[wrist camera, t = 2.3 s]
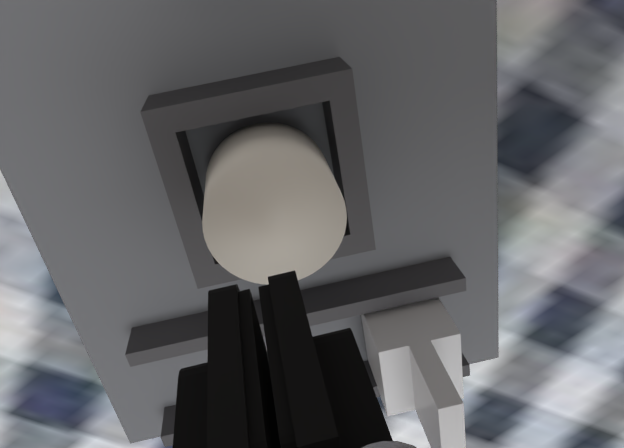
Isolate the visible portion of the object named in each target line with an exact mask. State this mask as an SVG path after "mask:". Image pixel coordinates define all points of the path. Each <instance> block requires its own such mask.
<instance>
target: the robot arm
mask: <svg viewBox="0 0 624 448" xmlns="http://www.w3.org/2000/svg"><path fill="white" fill-rule="evenodd" d="M268 282H269V284H268V285H264V286H259V287H258V289H259V296H260V304H261V311H262V318H263V325H264V332H265V339H266V346H265V342H264V339H263V335H262V331H261V328H260V324H259V320H258V316H257V313H256V309H255V305H254V302H253V298H252V294H251V291H250V289H246V290H242V291H240V290H239V287H238V285H237V284H235V285H230V286H226V287H222V288H217V289H213V290H209V291H208V359H207V363H202V364H198V365H194V366H190V367H186V368H182V369H180V371H179V375H178V384H177V397H176V410H175V423H174V436H173V448H416V447H415V446H413V445H409V444H406V443H402V442H399V441H393V440H392V438H391V435H390V432H389V429H388V427H387V424H386V421H385V419H384V416H383V413H382V410H381V408H380V405H379V402H378V400H377V397H376V394H375V391H374V389H373V386H372V383H371V381H370V378H369V375H368V372H367V370H366V367H365V364H364V362H363V359H362V356H361V354H360V351H359V348H358V345H357V343H356V340H355V337H354V335H353V332H352V330H351V328H347V329H342V330H338V331H334V332H330V333H326V334H322V335H318V336H314V337H312V333H311V329H310V325H309V321H308V318H307V314H306V310H305V306H304V302H303V298H302V295H301V291H300V287H299V283H298V279H297V275H296V272H295V271H290V272H286V273H282V274H277V275H273V276H269V277H268ZM266 347H267V350H266Z"/></svg>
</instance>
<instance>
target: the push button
mask: <svg viewBox="0 0 624 448" xmlns="http://www.w3.org/2000/svg"><path fill="white" fill-rule="evenodd" d="M346 222H347V213H346V206H345V201H344V198H343V196H342V193H341V191H340V189H339V187H338V185H337V183H336V180H335V178H334V176H333V174H332V172H331V170H330V168H329V166H328V164H327V162H326V159H325V157H324V155H323V153H322V152H321V150H320V148H319V147H318V146H317V144H316V143H315V142H314V141H313V140H312V139H311V138H310V137H309V136H307V135H306V134H305V133H303V132H301V131H300V130H298V129H296V128H294V127H291V126H288V125H284V124H280V123H272V122H271V123H257V124H252V125H249V126H246V127H243V128H241V129H239V130H237V131H235V132H234V133H232V134H231V135H229V136H228V137H227V138H225V139H224V140H223V141H222V142H221V143H220V144H219V146H218V147H217V148H216V150H215V151H214V153H213V155H212V156H211V158H210V161H209V164H208V167H207V172H206V181H205V193H204V205H203V217H202V228H203V234H204V239H205V242H206V244H207V247H208V249H209V251H210V252H211V254H212V256H213V257H214V258H215V259H216V261H217V262H218V263H219V264H220V265H221V266H222V267H223V268H224V269H226V270H227V271H228V272H230V273H231V274H233V275H235V276H237V277H239V278H241V279H243V280H246V281H249V282H253V283H258V284H266V285H268V284H269V282H268V277H269V276H273V275H277V274H282V273H286V272H290V271H295V272H296V275H297V279H298V280H300V279H303V278H305V277H307V276H309V275H311V274H313V273H314V272H316V271H317V270H319V269H320V268H321V267H323V266H324V265H325V264H326V263H327V262H328V261H329V260H330V259H331V258H332V257H333V255H334V254H335V252H336V251H337V249H338V248H339V246H340V244H341V242H342V239H343V237H344V234H345V229H346Z"/></svg>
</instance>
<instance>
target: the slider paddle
mask: <svg viewBox="0 0 624 448" xmlns="http://www.w3.org/2000/svg"><path fill="white" fill-rule="evenodd" d="M361 318H362V325H363V331H364V337H365V344H366V350H367V357H368V361H369V364H370V367H371V370H372V373H373V376H374V379H375V382H376V384H377V387H378V390H379V393H380V396H381V399H382V402H383V405H384V407H385V410H386V413H387V416H392V415H396V414H400V413H404V412H408V411H413V410H416V412H417V414H418V417H419V419H420V422H421V424H422V426H423V429H424V431H425V434H426V436H427V439H428V441H429V443H430V446H431V448H466V444H465V423H464V403H463V401H462V399H463V398H464V395H463V374H462V353H461V334H460V332H459V330H458V329H457V327H456V325H455V324H454V322H453V320H452V319H451V317H450V316H449V314H448V312H447V311H446V309H445V307H444V306H443V304H442V302H441V301H440V299H439V298H438V297H437V298H432V299H428V300H424V301H419V302H415V303H410V304H406V305H402V306H397V307H393V308H388V309H384V310H380V311H375V312H371V313H366V314H362V315H361Z"/></svg>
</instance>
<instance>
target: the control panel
mask: <svg viewBox="0 0 624 448" xmlns="http://www.w3.org/2000/svg"><path fill="white" fill-rule="evenodd" d="M271 122H272V123H280V124H284V125H288V126H291V127H294V128H296V129H298V130H300V131H301V132H303V133H305V134H306V135H307V136H309V137H310V138H311V139H312V140H313V141H314V142H315V143H316V144H317V146H318V147H319V148H320V150H321V152H322V153H323V155H324V157H325V159H326V162H327V164H328V166H329V168H330V170H331V172H332V174H333V176H334V178H335V180H336V183H337V185H338V187H339V189H340V191H341V193H342V196H343V198H344V201H345V206H346V213H347V222H346V229H345V234H344V237H343V239H342V242H341V244H340V246H339V248H338V249H337V251H336V252H335V254H334V255H333V257H332V258H331V259H330V260H329V261H328V262H327V263H326V264H325V265H324V266H323V267H321V268H320V269H319V270H317V271H316V272H314V273H313V274H311V275H309V276H307V277H305V278H303V279H300V280H298V283H299V287H300V291H301V295H302V298H303V302H304V306H305V310H306V314H307V318H308V321H309V325H310V329H311V333H312V337H314V336H318V335H322V334H326V333H330V332H334V331H338V330H342V329H347V328H351V330H352V332H353V335H354V337H355V340H356V343H357V345H358V348H359V351H360V354H361V356H362V359H363V362H364V364H365V367H366V370H367V372H368V375H369V378H370V381H371V383H372V386H373V389H374V391H375V394H376V397H380V393H379V390H378V387H377V384H376V382H375V379H374V376H373V373H372V370H371V367H370V364H369V361H368V357H367V350H366V344H365V337H364V331H363V325H362V318H361V315H362V314H366V313H371V312H375V311H380V310H384V309H388V308H393V307H397V306H402V305H406V304H410V303H415V302H419V301H424V300H428V299H432V298H437V297H438V298H439V299H440V301H441V302H442V304H443V306H444V307H445V309H446V311H447V312H448V314H449V316H450V317H451V319H452V320H453V322H454V324H455V325H456V327H457V329H458V330H459V332H460V334H461V353H462V374H463V377H465V376H469V375H470V369H469V364H472V363H476V362H481V361H485V360H489V359H493V358H498V193H497V20H496V0H0V169H1V172H2V174H3V176H4V178H5V180H6V182H7V184H8V186H9V188H10V191H11V193H12V195H13V197H14V199H15V201H16V203H17V205H18V207H19V210H20V212H21V214H22V216H23V218H24V220H25V222H26V224H27V226H28V229H29V231H30V233H31V235H32V237H33V239H34V241H35V243H36V245H37V247H38V250H39V252H40V254H41V256H42V258H43V260H44V262H45V264H46V266H47V269H48V271H49V273H50V275H51V277H52V279H53V281H54V283H55V285H56V288H57V290H58V292H59V294H60V296H61V298H62V300H63V302H64V304H65V307H66V309H67V311H68V313H69V315H70V317H71V319H72V321H73V323H74V326H75V328H76V330H77V332H78V334H79V336H80V338H81V340H82V342H83V344H84V347H85V349H86V351H87V353H88V355H89V357H90V359H91V361H92V363H93V366H94V368H95V370H96V372H97V374H98V376H99V378H100V380H101V382H102V385H103V387H104V389H105V391H106V393H107V395H108V397H109V399H110V401H111V404H112V406H113V408H114V410H115V412H116V414H117V416H118V418H119V420H120V422H121V425H122V427H123V429H124V431H125V433H126V435H127V437H128V439H129V441H130V443H134V442H138V441H142V440H147V439H151V438H155V437H159V436H161V439H162V441H163V444H164V446H165V447H166V446H171V445H173V436H174V423H175V410H176V397H177V384H178V375H179V371H180V369H182V368H186V367H190V366H194V365H198V364H202V363H207V359H208V291H209V290H213V289H217V288H222V287H226V286H230V285H235V284H237V285H238V287H239V290H240V291H242V290H246V289H250V291H251V294H252V298H253V302H254V305H255V309H256V313H257V316H258V320H259V324H260V328H261V331H262V335H263V339H264V342H265V346H266V339H265V332H264V325H263V318H262V311H261V304H260V296H259V289H258V287H259V286H264V285H266V284H258V283H253V282H249V281H246V280H243V279H241V278H239V277H237V276H235V275H233V274H231V273H230V272H228V271H227V270H226V269H224V268H223V267H222V266H221V265H220V264H219V263H218V262H217V261H216V259H215V258H214V257H213V256H212V254H211V252H210V251H209V249H208V247H207V244H206V242H205V239H204V234H203V228H202V217H203V205H204V193H205V181H206V172H207V167H208V164H209V161H210V158H211V156H212V155H213V153H214V151H215V150H216V148H217V147H218V146H219V144H220V143H221V142H222V141H223V140H224V139H225V138H227V137H228V136H229V135H231V134H232V133H234V132H235V131H237V130H239V129H241V128H243V127H246V126H249V125H252V124H257V123H271ZM266 350H267V347H266Z"/></svg>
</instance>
